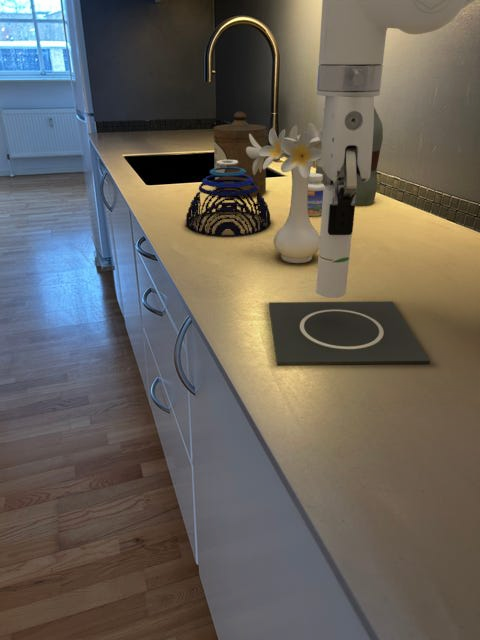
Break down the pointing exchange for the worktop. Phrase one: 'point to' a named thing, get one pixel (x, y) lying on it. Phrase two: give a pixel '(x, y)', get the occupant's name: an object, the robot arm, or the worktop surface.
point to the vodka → (368, 188)
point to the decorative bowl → (228, 204)
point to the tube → (332, 254)
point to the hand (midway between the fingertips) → (336, 227)
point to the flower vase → (293, 188)
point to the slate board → (342, 334)
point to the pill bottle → (315, 194)
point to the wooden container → (239, 151)
